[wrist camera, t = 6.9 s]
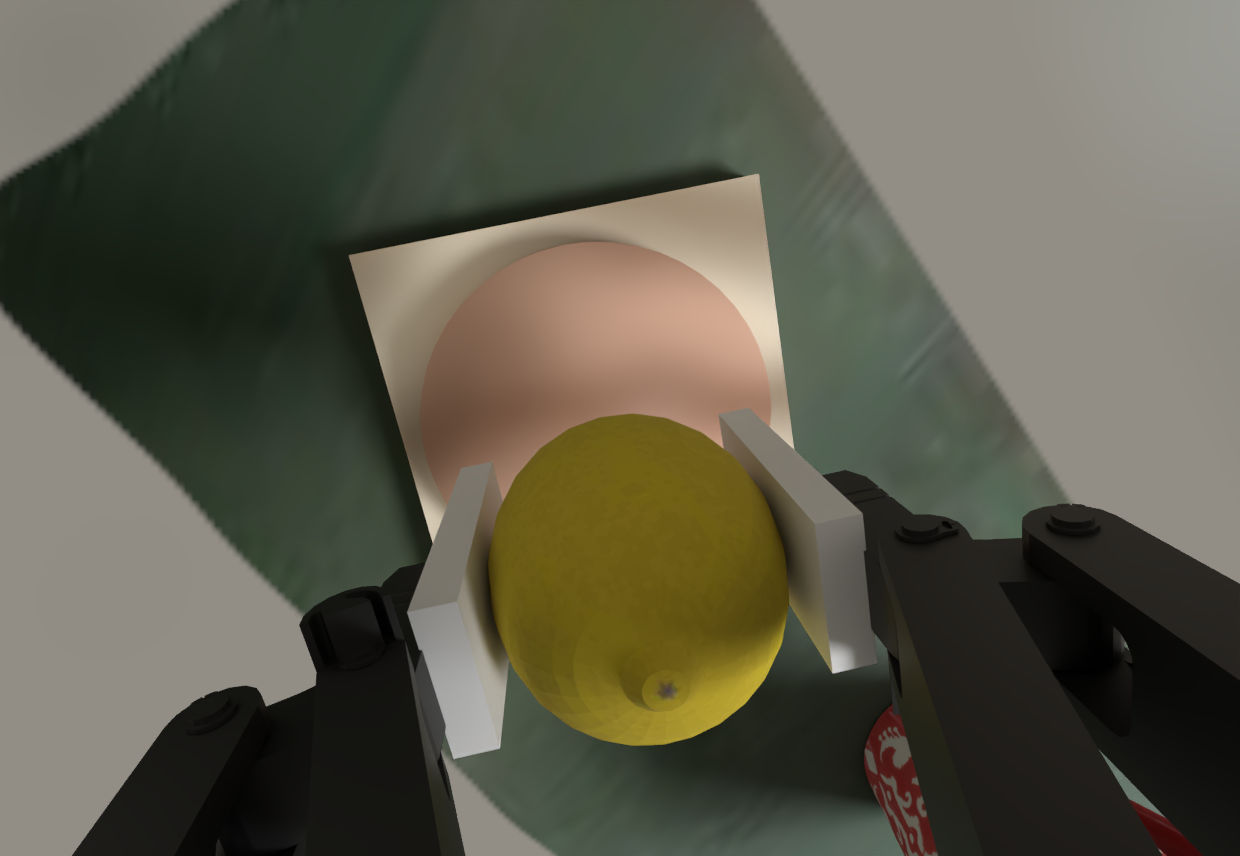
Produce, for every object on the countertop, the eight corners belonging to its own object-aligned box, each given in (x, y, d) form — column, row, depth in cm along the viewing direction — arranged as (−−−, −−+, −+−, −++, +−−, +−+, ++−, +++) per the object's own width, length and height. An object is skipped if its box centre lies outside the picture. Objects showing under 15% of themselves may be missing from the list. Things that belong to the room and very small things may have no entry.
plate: (793, 529, 29) (820, 561, 26) (460, 601, 29) (450, 642, 26) (746, 177, 25) (771, 169, 22) (360, 254, 25) (335, 256, 22)
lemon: (769, 491, 18) (934, 692, 10) (606, 627, 18) (645, 912, 11) (626, 328, 16) (693, 421, 9) (454, 482, 17) (374, 694, 9)
